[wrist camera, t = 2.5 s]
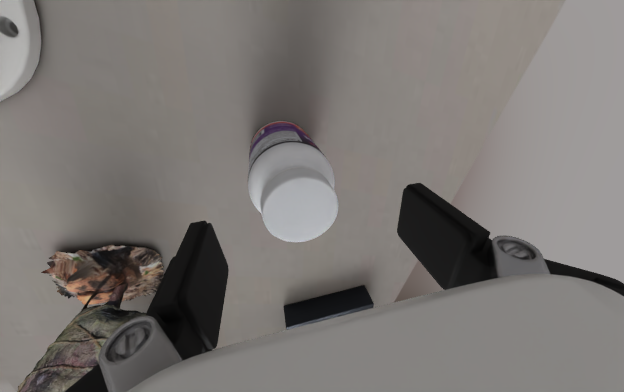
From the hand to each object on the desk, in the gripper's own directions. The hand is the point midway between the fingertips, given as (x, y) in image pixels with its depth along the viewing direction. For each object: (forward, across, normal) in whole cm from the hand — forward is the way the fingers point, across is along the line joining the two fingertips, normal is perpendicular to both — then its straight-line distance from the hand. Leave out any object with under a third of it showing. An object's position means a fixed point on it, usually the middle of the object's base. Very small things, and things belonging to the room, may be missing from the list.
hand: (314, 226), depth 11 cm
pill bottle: (+11, +1, 0) cm, 11 cm away
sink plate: (+11, -2, +28) cm, 30 cm away
